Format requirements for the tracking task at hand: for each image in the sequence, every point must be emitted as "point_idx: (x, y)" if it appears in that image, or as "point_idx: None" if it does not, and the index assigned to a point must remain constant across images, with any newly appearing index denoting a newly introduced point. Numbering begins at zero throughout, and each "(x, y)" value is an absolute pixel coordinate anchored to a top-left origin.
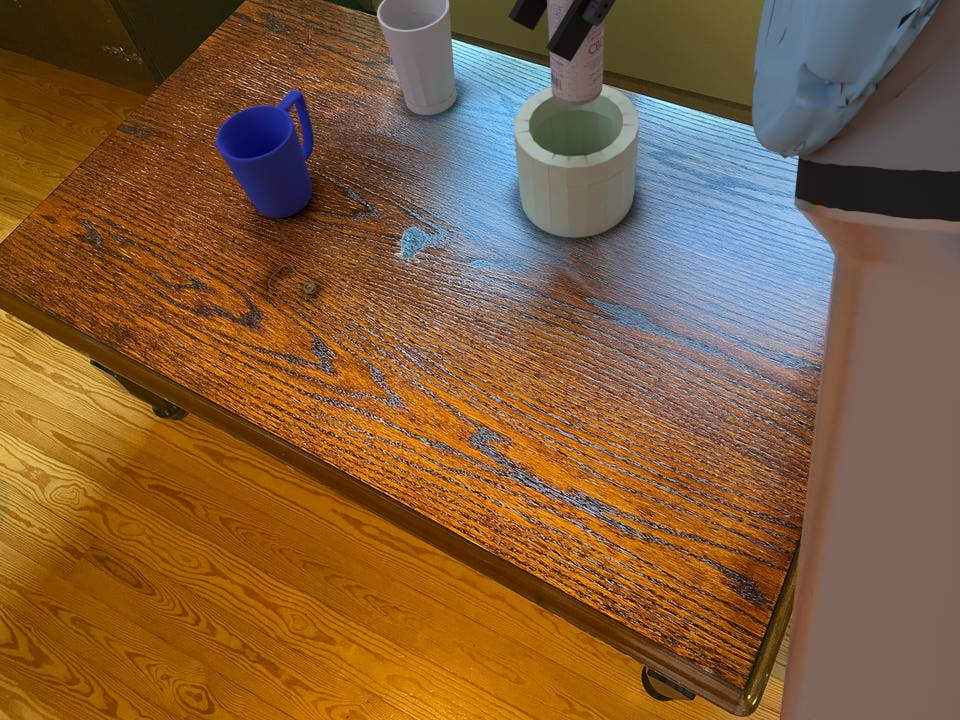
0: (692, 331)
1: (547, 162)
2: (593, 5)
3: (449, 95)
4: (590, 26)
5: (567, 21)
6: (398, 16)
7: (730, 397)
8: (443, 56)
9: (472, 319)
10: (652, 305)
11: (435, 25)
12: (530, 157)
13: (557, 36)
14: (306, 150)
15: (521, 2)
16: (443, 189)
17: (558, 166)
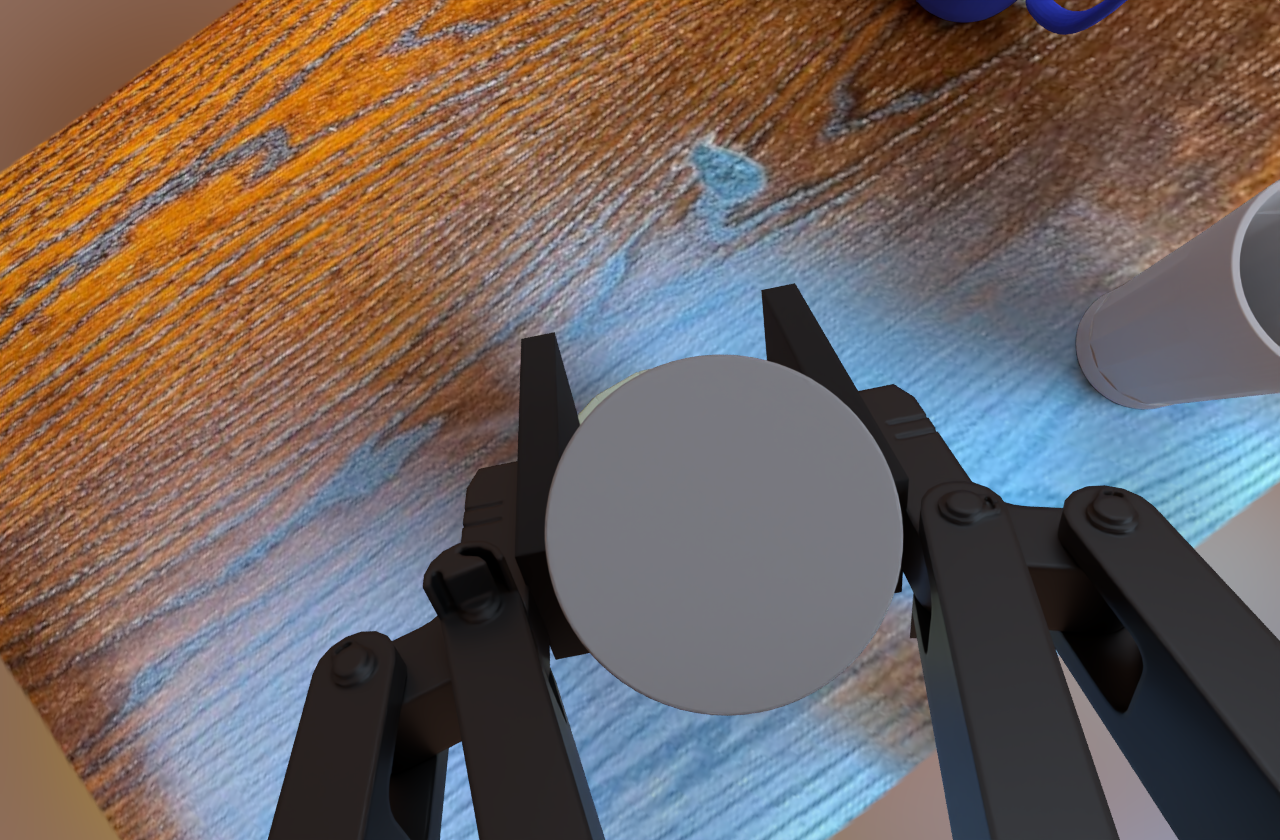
0: (284, 559)
1: (602, 398)
2: (488, 508)
3: (1106, 374)
4: None
5: (530, 405)
6: None
7: (140, 548)
8: (1172, 348)
9: (498, 213)
10: (368, 522)
11: (1236, 309)
12: (642, 371)
13: (532, 366)
14: (1057, 16)
15: (788, 322)
16: (836, 274)
17: (578, 416)
